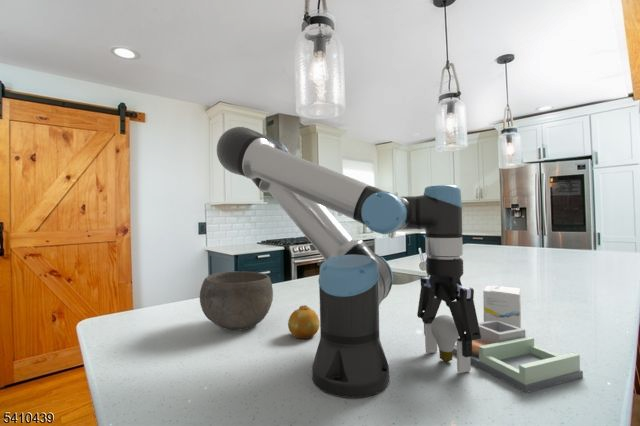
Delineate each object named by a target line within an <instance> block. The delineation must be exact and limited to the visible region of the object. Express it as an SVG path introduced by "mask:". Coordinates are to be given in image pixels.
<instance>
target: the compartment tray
mask: <svg viewBox="0 0 640 426" xmlns="http://www.w3.org/2000/svg"><path fill="white" fill-rule="evenodd" d="M478 325H479V329H480V334H481V338H480V339H477V340H481V341H486V342H489V343H491V344H488V345H483V346H479V354H476V353H473V352H472V356H471V357H470V361H471V365H474V366H476V367H478V368H480V369H481V370H483V371H485V372H487V373H489V374H491V375H493V376H495V377H497V378H498V379H500V380H502V381H503V382H506V383H507V384H509V385H511V386H513V387H515V388H517V389H518V390H520V391H522V392H523V393H530V392H533V391H537V390H542V389H545V388H550V387H553V386H557V385H559V384H563V383H567V382H570V381H575V380H578V379H582V378H584V372H583V370H581V359H580V358H581V357H580V354H579V353H578V354H577V353H575V352H571V353H565V354H562V355H560V354H557V353H556V352H553V351H550V350H547V349H544V348H542V347H540V346H537V345H535V338H534V337H532V336H526V329H523V328H522V327H521V328H519V327H516V326H513V325H510V324H507V323H504V322H501V321H498V320H493V321H487V322H484V321H481V322H478ZM453 355H455V356H457V344H455V345H454V349H453Z"/></svg>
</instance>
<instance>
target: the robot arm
mask: <svg viewBox="0 0 640 426" xmlns="http://www.w3.org/2000/svg"><path fill="white" fill-rule="evenodd" d="M216 155H217V159H218V161H219V163H220V164H221V166H222V167H223V168H224V169H225V170H227V171H228V172H230V173H232V174H235V175H239V176H241V177H245V178H247V179H250V180H251V181H252V182H253V183H254V185H255V186H256V187H257V188H258V189H259V191H261V192H262V193H270V195H271V196H272V197H273V198H274V200H275V201H276V202H277V203H278V205H279V206H280V208H282V210H283V211H284V212H285V213H286V214H287V215H288V217H289V218H290V219H291V220H292V222H293V223H294V224H295V225H296V227H297V228H298V229H299V230H300V232H301V233H302V234H303V235H304V236H305V238H307V240H308V241H309V242H310V244H312V246H313V247H314V248H315V250H316V251H317V252H318V253H319V254H320V256H321V257H322V258H323V260H324V261H322V263H321V264H320V267H319V276H318V280H317V281H318V285H319V286H318V288H319V290H318V291H319V329H320V332H319V333H320V338H319V342H318V345H317V348H316V353H315V355H314V358H313V361H312V365H311V371H312V372H311V374H312V375H311V377H312V378H311V379H312V382H313V384H314V385H315V387H317V388H318V389H319V390H320V391H323V392H325V393H327V394H330V395H333V396H336V397H342V398H364V397H371V396H373V395H376V394H378V393H379V394H380V392H382V391H384V390H385V389H386V388H387V387H388V385H389V384H390V365H389V363H388V360H387V357H386V354H385V352H384V348H383V346H382V342H381V338H380V337H381V336H380V305H381V303H382V302H383V301H384V299H386V298H387V297H388V295H389V294H390V293H391V290H392V286H393V281H394V280H393V279H394V276H393V270H392V268H391V266H390V264H389V263H388V261H387V260H386V259H385V258H384V257H383V256H380V255H379V254H376V253H374V251H372V250H371V248H370V247H369V246H368V245H367V244H366V243H365V242H364V241H363V240H362V239H354V238H353V237H352V236H351V234H350V233H348V231H347V230H346V229H345V228H344V227H343V226H342V224H341V223H340V222H339V221H338V220H337V219H336V217H334V216H333V214H332V213H331V212H330V211H329V210H332V211H334V212H335V213H338V214H339V215H343V216H345V217H348V218H350V219H352V220H354V221H356V222H358V223H360V224H361V225H364V226H366V227H367V228H368V229H369V230H370V231H372V232H375V233H378V234H382V235H388V234H392V233H395V232H397V231H399V230H402V231H404V230H405V231H406V230H425V236H424V237H425V255H427V257H426V259H425V271H426V274H427V275H429V276H428V277H427V276H425V277H420V293H419V299H418V300H419V301H418V307H417V314H416V315H417V317H418V319H421V320H422V323H423V329H424V330H423V334H424V342H425V343H424V344H425V353H426V354H432V353H437V352H438V344H437V341H436V339H435V338H434V336H433V334H432V331H431V324H432V322H433V320H434V319H435V318H436V317H437V315H438V311H439V308H440V306H441V303H442V301H443V302H445V305H446V307H448V308H449V311H450V315H451V317H452V318H453V320H454V323H455V326H456V328H457V331H458V334H459V338H458V339H457V341H456V345H457V355H456V370H457V373H459V374H462V373H467V372H471V370H472V368H471V365H472V363H471V361H470V357H471V356H472V340H477V339H480V338H481V334H480V329H479V325H478V323H479V319H478V315H477V311H476V307H475V301H474V297H475V295H474V293H475V291H474V288H473V287H471V286H470V287H466V286H463V284H462V281H461V277H462V276H463V275H464V259H463V258H462V256H463V254H464V251H463V250H464V248H463V245H464V244H463V204H462V193H461V188H460V187H459V186H457V185H455V184H440V185H429V186H426V187H425V188H424V192H423V194H422V195H421V194H420V195H417V196H415V195H414V196H411V195H410V196H408V195H407V196H399V195H396V194H395V193H392V192H389V191H385V190H383V189H380V188H378V187H375V186H373V185H370V184H368V183H365V182H363V181H360V180H358V179H355V178H352V177H350V176H348V175H345V174H342V173H341V172H337V171H336V170H333V169H330V168H328V167H325V166H323V165H320V164H318V163H315V162H312V161H309V160H307V159H305V158H302V157H301V156H300V157H299V156H298V155H294V154H292V153H290V152H289V150H288V149H287V147H286V146H285V145H284V144H283V143H282V142H281V141H280V140H278V139H276V138H273V137H271V136H267V135H264V134H263V133H261V132H258V131H256V130H254V129H251V128H249V127H245V126H234V127H231V128H229V129H227V130H225V131H224V132H223V133H222V134H221V136H220V137H219V139H218V141H217V145H216ZM328 209H329V210H328Z"/></svg>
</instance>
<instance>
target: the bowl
mask: <svg viewBox="0 0 640 426" xmlns="http://www.w3.org/2000/svg"><path fill="white" fill-rule="evenodd" d="M200 287H201V288H200V291H199V305H200V308H201V311H202V312H203V314H204V316H205V317H206V318H207V319H208V321H211V322H212V323H213V324H215V325H216V326H218V327H220V328H222V329H224V330H227V331H243V330H247V329H250V328H253V327H254V326H256V325H258V324H259V323H261V322H262V321H263V320H264V319H265V318H266V317H267V315H268V313H269V311H270V309H271V306H272V303H273V298H274V290H273V284H272V279H271V278H270V276H269V275H268V274H267V273H262V272H255V271H245V270H244V271H240V270H239V271H237V270H236V271H235V270H234V271H233V270H232V271H231V270H230V271H224V272H215V273H212V274H209V275H207V276H206V277H205V278H204V280H203V281H202V285H201V286H200Z"/></svg>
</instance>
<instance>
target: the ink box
mask: <svg viewBox="0 0 640 426" xmlns="http://www.w3.org/2000/svg"><path fill="white" fill-rule="evenodd" d="M521 305H522V304H521V288H520V287H511V286H503V285H502V286H501V285H486V286H485V287H484V289H483V322H487V321H493V320H498V321H501V322H504V323H507V324H510V325H513V326H516V327H519V328H522V326H521V325H522V317H521V315H522V313H521V309H522V308H521V307H522V306H521Z"/></svg>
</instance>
